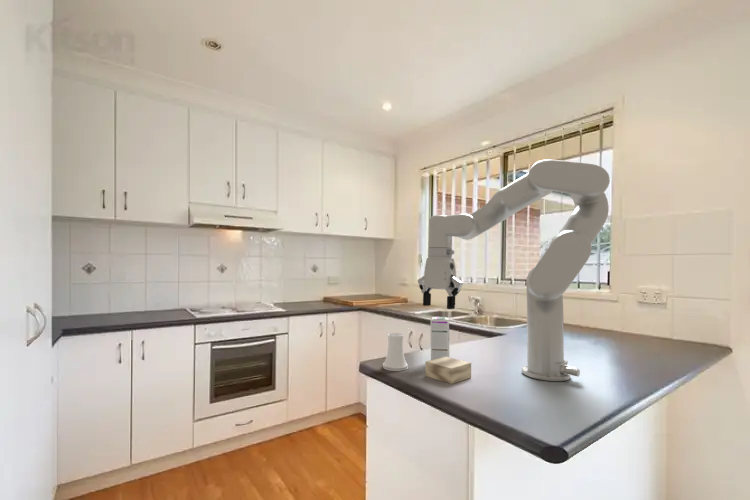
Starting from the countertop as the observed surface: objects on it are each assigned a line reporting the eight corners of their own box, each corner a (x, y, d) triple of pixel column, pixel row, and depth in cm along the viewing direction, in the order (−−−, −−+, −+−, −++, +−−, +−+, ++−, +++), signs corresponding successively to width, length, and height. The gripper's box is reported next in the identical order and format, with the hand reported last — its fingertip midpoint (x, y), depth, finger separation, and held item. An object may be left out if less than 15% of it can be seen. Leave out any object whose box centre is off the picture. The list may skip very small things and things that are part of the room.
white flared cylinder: (392, 362, 115) (393, 331, 116) (412, 367, 111) (412, 334, 111) (377, 367, 110) (378, 334, 110) (398, 372, 105) (398, 337, 105)
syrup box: (449, 366, 112) (449, 319, 112) (430, 365, 113) (430, 318, 113) (449, 362, 117) (449, 317, 118) (431, 361, 118) (431, 316, 119)
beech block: (471, 377, 101) (471, 362, 101) (451, 383, 95) (451, 368, 95) (445, 370, 108) (445, 356, 108) (425, 375, 102) (425, 361, 102)
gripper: (469, 254, 113) (468, 309, 112) (426, 254, 126) (425, 303, 125) (455, 253, 108) (453, 311, 107) (412, 253, 121) (410, 304, 120)
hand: (438, 307), depth 116 cm, fingers open, 9 cm apart
